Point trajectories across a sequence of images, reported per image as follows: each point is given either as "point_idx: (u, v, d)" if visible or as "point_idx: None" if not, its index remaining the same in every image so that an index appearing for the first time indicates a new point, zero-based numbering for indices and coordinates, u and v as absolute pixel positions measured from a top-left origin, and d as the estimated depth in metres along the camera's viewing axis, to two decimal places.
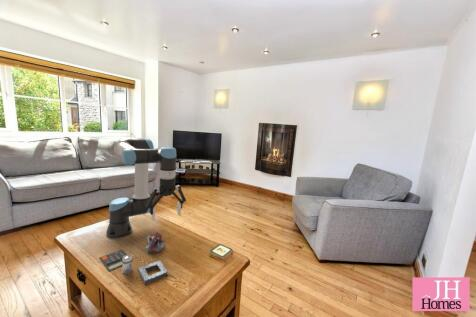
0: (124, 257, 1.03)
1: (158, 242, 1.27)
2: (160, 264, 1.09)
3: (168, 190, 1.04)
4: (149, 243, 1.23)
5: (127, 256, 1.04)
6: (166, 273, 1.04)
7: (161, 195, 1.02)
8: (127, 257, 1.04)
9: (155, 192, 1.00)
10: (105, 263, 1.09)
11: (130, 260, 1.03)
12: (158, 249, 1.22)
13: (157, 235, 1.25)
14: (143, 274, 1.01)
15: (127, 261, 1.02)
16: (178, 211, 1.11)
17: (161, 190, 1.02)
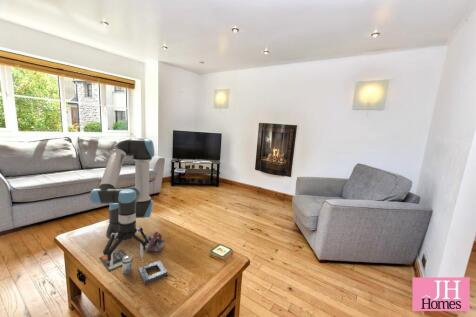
0: (124, 257, 1.03)
1: (158, 242, 1.28)
2: (160, 264, 1.09)
3: (128, 234, 1.01)
4: None
5: (127, 256, 1.04)
6: (166, 273, 1.04)
7: (119, 240, 0.99)
8: (127, 257, 1.04)
9: (112, 238, 0.97)
10: (105, 263, 1.09)
11: (130, 260, 1.03)
12: (157, 249, 1.22)
13: (156, 235, 1.25)
14: (143, 274, 1.01)
15: (127, 261, 1.02)
16: (140, 253, 1.08)
17: (120, 235, 0.99)
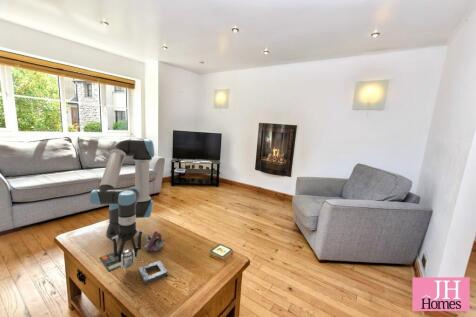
0: (124, 251, 1.03)
1: (157, 241, 1.28)
2: (160, 264, 1.09)
3: (128, 234, 1.02)
4: (148, 242, 1.24)
5: (127, 250, 1.04)
6: (166, 273, 1.04)
7: (122, 242, 1.00)
8: (127, 251, 1.04)
9: (114, 241, 0.98)
10: (105, 263, 1.09)
11: (130, 254, 1.03)
12: (156, 248, 1.23)
13: (156, 234, 1.26)
14: (143, 274, 1.01)
15: (127, 255, 1.02)
16: None
17: (120, 236, 0.99)
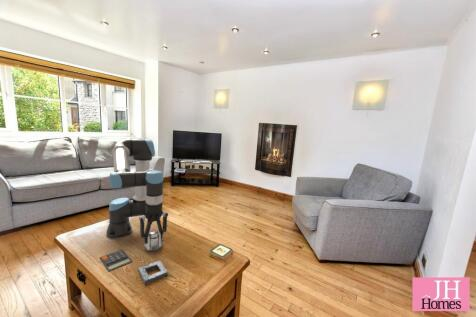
0: (150, 233, 1.01)
1: None
2: (160, 264, 1.09)
3: (155, 215, 1.00)
4: None
5: (153, 232, 1.02)
6: (166, 273, 1.04)
7: (149, 223, 0.98)
8: (153, 233, 1.01)
9: (142, 221, 0.96)
10: (105, 263, 1.09)
11: (157, 236, 1.01)
12: None
13: None
14: (143, 274, 1.01)
15: (154, 236, 1.00)
16: (158, 242, 1.04)
17: (147, 216, 0.97)
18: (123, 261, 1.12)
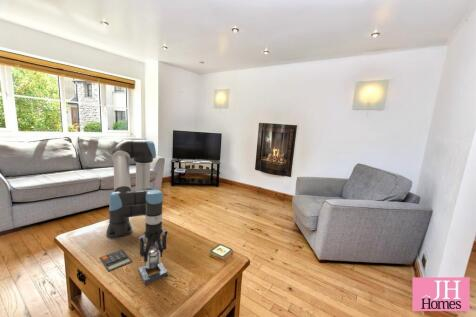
0: (150, 251, 1.03)
1: (156, 241, 1.29)
2: (160, 264, 1.09)
3: (154, 233, 1.01)
4: None
5: (153, 250, 1.04)
6: (166, 273, 1.04)
7: (149, 242, 0.99)
8: (153, 251, 1.03)
9: (142, 241, 0.98)
10: (105, 263, 1.09)
11: (156, 254, 1.03)
12: (155, 248, 1.23)
13: None
14: (143, 274, 1.01)
15: (153, 255, 1.01)
16: None
17: (147, 236, 0.99)
18: (123, 261, 1.12)
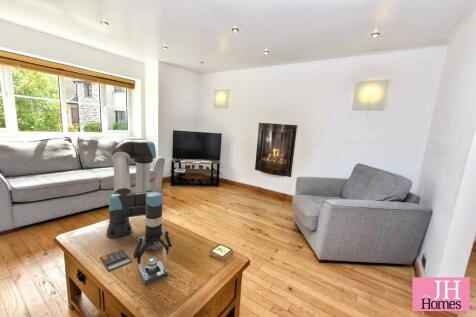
0: (149, 259, 1.03)
1: None
2: (160, 264, 1.09)
3: (154, 236, 1.01)
4: None
5: (152, 258, 1.04)
6: (166, 273, 1.04)
7: (147, 243, 0.99)
8: (152, 259, 1.03)
9: (140, 241, 0.97)
10: (105, 263, 1.09)
11: (155, 262, 1.03)
12: (155, 247, 1.24)
13: None
14: (143, 274, 1.01)
15: (153, 263, 1.02)
16: (163, 257, 1.07)
17: (147, 238, 0.99)
18: (123, 261, 1.12)
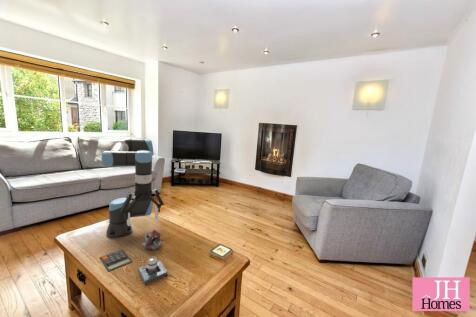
0: (149, 259, 1.03)
1: (156, 240, 1.30)
2: (160, 264, 1.09)
3: (144, 194, 1.02)
4: (147, 240, 1.26)
5: (152, 258, 1.04)
6: (166, 273, 1.04)
7: (136, 200, 1.00)
8: (152, 259, 1.03)
9: (130, 197, 0.98)
10: (105, 263, 1.09)
11: (155, 262, 1.03)
12: (154, 247, 1.24)
13: (154, 233, 1.27)
14: (143, 274, 1.01)
15: (153, 263, 1.02)
16: (155, 215, 1.10)
17: (136, 195, 1.00)
18: (123, 261, 1.12)
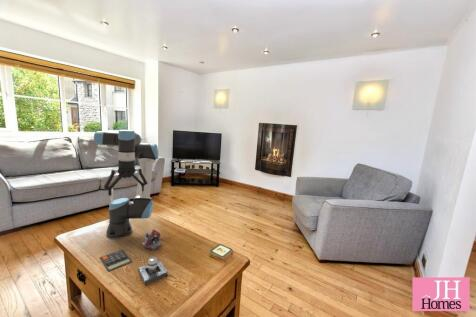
0: (150, 259, 1.03)
1: (156, 240, 1.30)
2: (160, 264, 1.09)
3: (127, 172, 1.07)
4: (146, 240, 1.27)
5: (152, 258, 1.04)
6: (166, 273, 1.04)
7: (119, 177, 1.04)
8: (153, 259, 1.03)
9: (113, 173, 1.02)
10: (105, 263, 1.09)
11: (156, 262, 1.03)
12: (153, 246, 1.24)
13: (154, 233, 1.27)
14: (143, 274, 1.01)
15: (153, 263, 1.02)
16: (139, 194, 1.13)
17: (119, 172, 1.04)
18: (123, 261, 1.12)
